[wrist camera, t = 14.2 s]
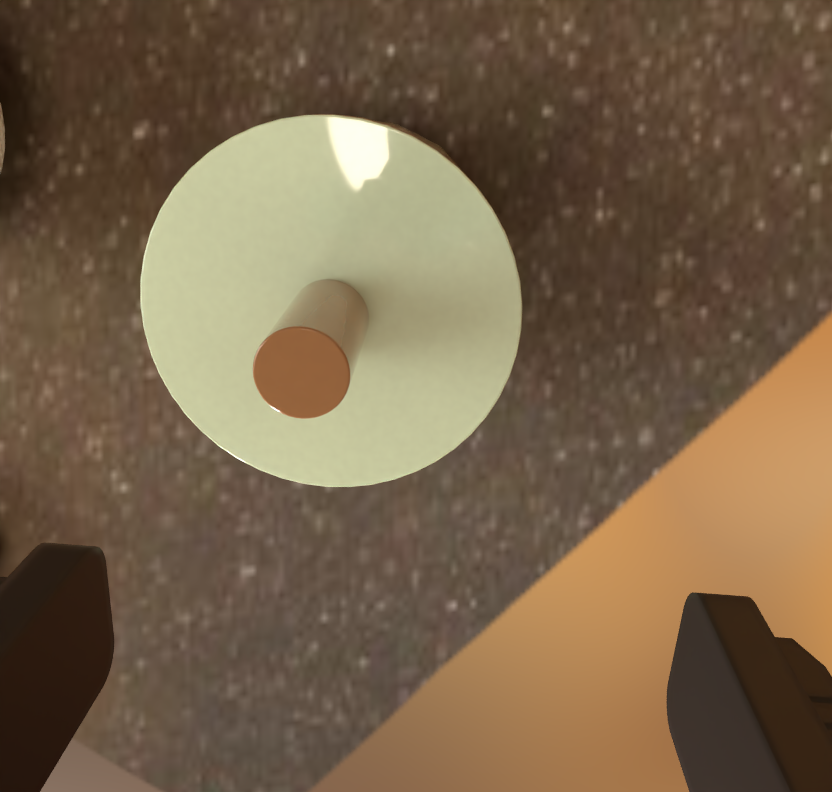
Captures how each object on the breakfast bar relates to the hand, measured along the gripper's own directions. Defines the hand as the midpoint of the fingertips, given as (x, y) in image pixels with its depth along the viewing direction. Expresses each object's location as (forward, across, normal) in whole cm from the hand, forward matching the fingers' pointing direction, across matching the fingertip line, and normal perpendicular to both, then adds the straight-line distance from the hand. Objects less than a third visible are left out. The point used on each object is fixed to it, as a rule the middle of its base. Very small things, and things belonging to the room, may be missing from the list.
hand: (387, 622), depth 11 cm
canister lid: (+16, +3, 0) cm, 17 cm away
